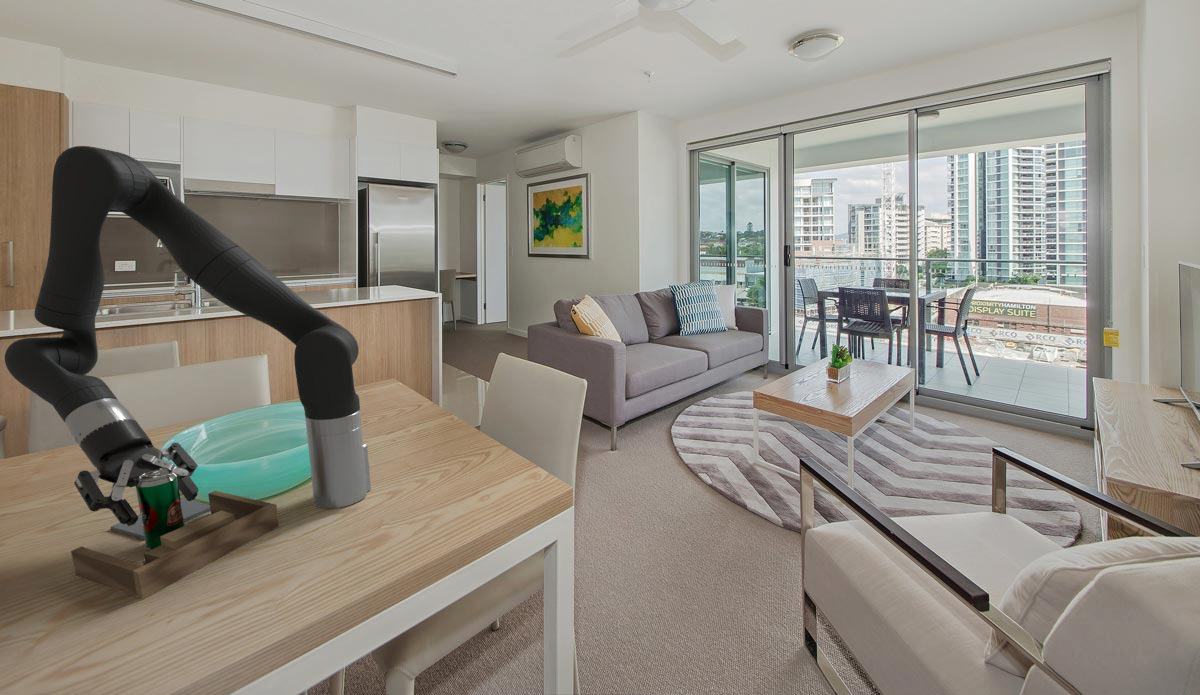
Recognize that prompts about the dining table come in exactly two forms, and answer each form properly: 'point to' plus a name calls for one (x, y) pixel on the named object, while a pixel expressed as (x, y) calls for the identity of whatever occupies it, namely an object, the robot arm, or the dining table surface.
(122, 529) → the mat
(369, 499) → the dining table surface
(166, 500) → the soda can
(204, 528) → the offcut stack
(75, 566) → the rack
